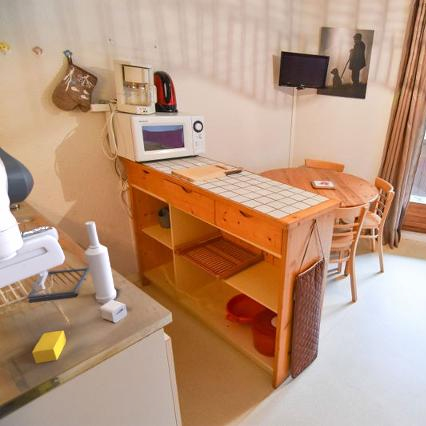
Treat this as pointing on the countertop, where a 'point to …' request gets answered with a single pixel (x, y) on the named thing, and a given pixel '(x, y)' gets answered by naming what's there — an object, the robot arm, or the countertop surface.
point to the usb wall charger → (113, 311)
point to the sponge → (49, 346)
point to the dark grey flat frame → (62, 296)
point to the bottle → (99, 267)
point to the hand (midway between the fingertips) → (11, 301)
